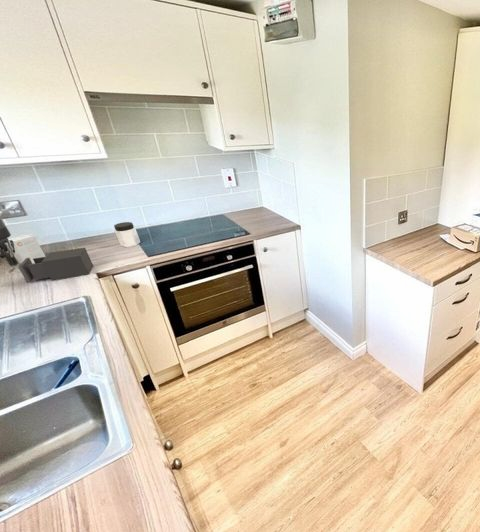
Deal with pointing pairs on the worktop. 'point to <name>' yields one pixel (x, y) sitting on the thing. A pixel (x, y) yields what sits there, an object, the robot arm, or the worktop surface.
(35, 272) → the drawer
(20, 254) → the small box
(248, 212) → the worktop surface
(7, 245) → the robot arm
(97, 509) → the worktop surface
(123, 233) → the jar
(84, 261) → the cabinet
